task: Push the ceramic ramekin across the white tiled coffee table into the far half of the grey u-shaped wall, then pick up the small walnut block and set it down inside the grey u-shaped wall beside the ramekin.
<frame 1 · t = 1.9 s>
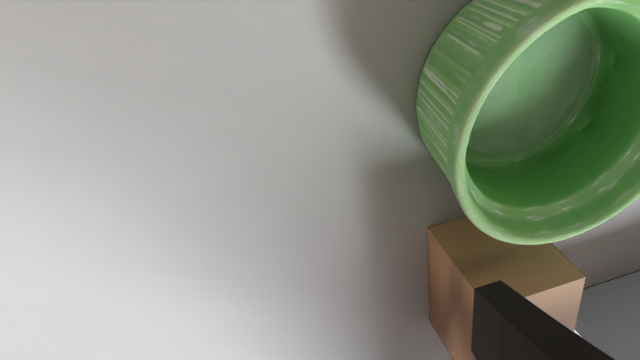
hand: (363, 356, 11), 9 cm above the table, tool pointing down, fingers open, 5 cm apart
ramekin: (505, 78, 21), on the table
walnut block: (466, 263, 25), on the table
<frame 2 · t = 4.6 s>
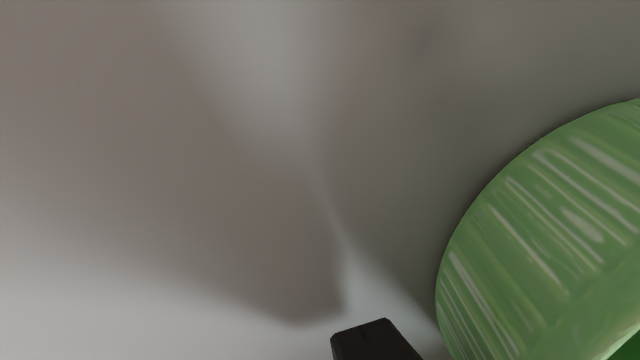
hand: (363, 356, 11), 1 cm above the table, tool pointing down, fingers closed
ramekin: (572, 238, 13), on the table, touching gripper
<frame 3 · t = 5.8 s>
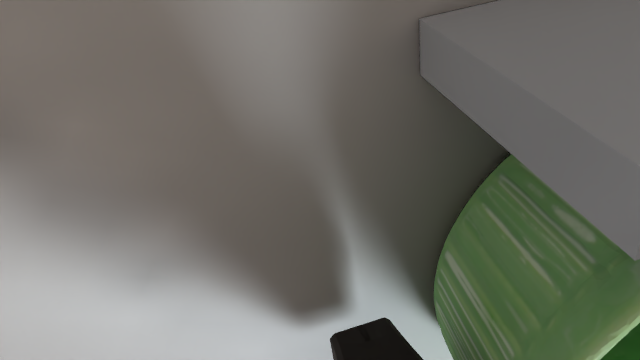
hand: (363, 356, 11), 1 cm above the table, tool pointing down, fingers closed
grey u-shaped wall: (631, 323, 16), on the table
ramekin: (572, 233, 13), on the table, touching gripper
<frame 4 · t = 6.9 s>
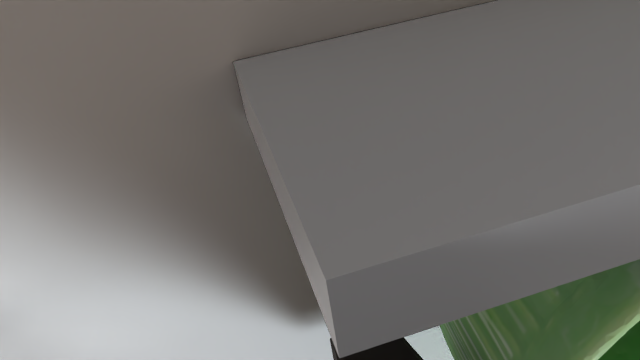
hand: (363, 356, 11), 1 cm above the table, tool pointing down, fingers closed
grey u-shaped wall: (538, 355, 15), on the table
ramekin: (572, 231, 13), on the table, touching gripper
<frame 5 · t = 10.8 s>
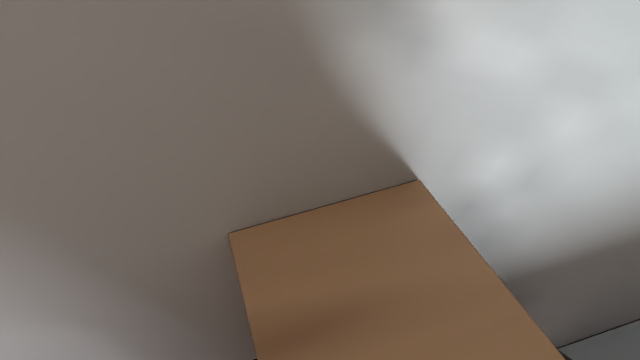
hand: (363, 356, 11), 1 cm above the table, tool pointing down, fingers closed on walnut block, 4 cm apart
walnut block: (342, 307, 12), on the table, touching gripper
when the fingers open (3 cm above the table, at t = 13.7 s): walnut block stays where it is, on the table.
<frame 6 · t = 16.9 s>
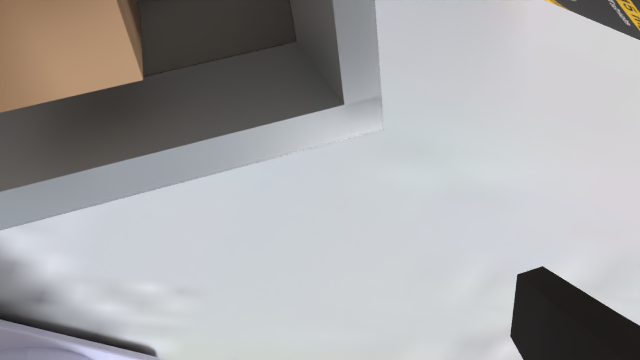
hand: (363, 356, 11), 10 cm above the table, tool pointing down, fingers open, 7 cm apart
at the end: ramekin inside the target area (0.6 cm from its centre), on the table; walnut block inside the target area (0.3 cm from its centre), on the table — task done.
